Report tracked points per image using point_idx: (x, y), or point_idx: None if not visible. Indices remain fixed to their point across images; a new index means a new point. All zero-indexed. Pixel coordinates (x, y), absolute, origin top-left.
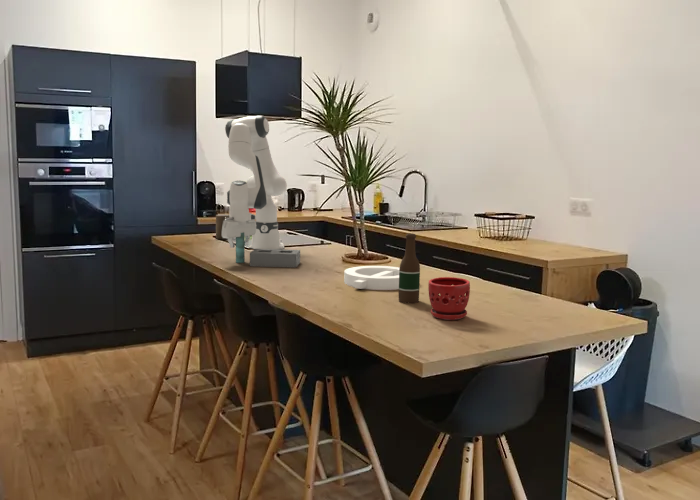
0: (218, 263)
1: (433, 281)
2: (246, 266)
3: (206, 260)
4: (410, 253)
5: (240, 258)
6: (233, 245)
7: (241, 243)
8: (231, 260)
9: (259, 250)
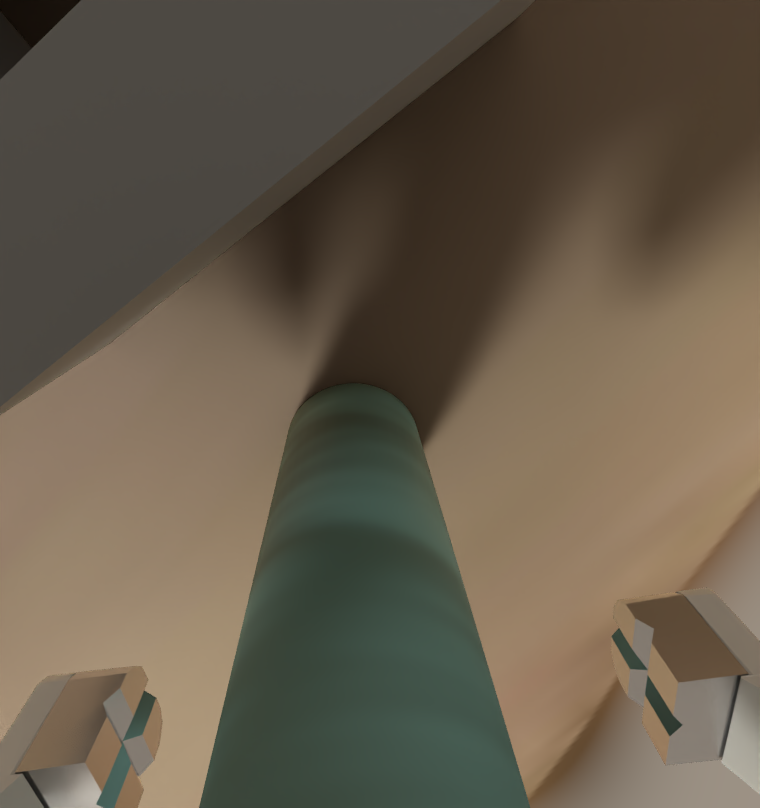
0: (613, 552)
1: None
2: (577, 49)
3: (537, 746)
4: None
5: (401, 426)
6: (705, 628)
7: (419, 646)
8: None
9: (15, 72)
